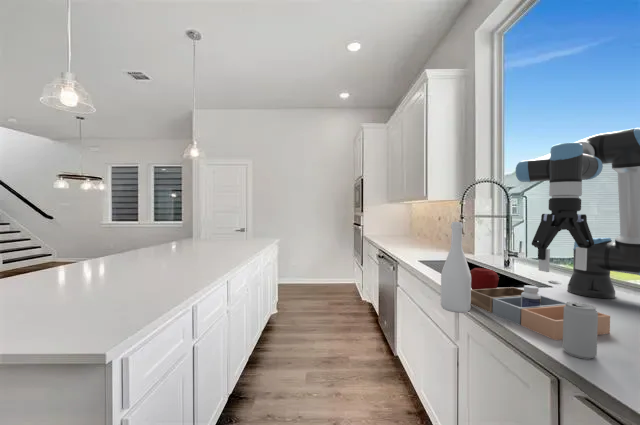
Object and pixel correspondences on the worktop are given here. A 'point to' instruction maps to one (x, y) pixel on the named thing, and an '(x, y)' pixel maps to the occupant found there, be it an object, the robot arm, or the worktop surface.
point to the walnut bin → (492, 296)
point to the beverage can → (580, 330)
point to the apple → (483, 278)
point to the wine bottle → (456, 276)
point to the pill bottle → (530, 296)
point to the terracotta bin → (555, 321)
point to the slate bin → (518, 307)
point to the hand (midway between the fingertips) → (562, 270)
